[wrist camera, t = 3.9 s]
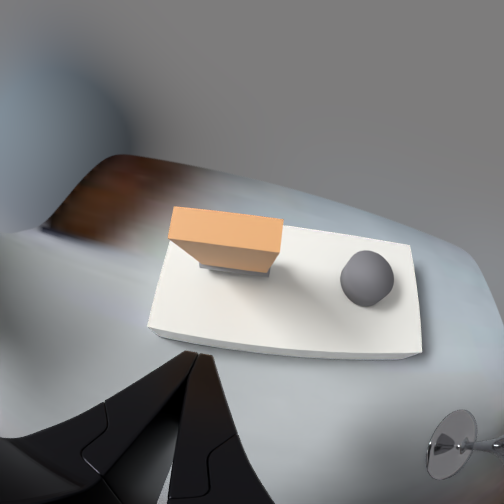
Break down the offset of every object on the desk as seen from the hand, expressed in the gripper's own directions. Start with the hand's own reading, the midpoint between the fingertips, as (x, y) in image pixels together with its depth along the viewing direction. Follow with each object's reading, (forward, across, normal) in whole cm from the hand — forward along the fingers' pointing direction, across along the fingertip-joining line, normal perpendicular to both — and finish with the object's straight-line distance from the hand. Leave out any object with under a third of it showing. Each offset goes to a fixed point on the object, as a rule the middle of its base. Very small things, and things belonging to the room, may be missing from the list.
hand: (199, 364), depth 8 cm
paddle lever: (+10, 0, 0) cm, 10 cm away
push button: (+11, -9, 0) cm, 14 cm away
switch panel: (+13, -4, +3) cm, 14 cm away
